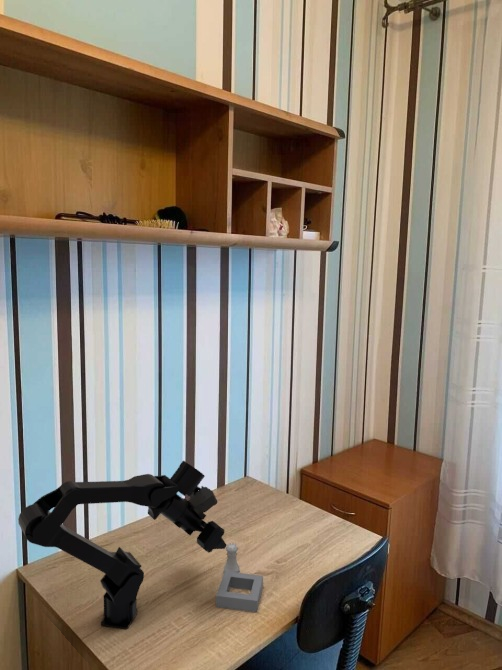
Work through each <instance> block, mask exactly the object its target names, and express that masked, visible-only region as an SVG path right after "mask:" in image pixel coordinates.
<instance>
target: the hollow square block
mask: <svg viewBox="0 0 502 670" xmlns="http://www.w3.org/2000/svg"><path fill="white" fill-rule="evenodd" d="M263 587H264V576H263V575H260V574H252V573H243V572H240V573H236V572H228V571H225V572H224V573H223V575H222V579H221V581H220V584H219V587H218V589H217V592H216V595H215V608H221V609H228V610H233V611H234V610H235V611H242V612H249V613H258V610H259V605H260V601H261V597H262V592H263ZM231 589H241V590H246V591H250V594H249V593H241V592H240V593H239V592H234V591H233V592H232V591H231Z"/></svg>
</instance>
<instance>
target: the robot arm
mask: <svg viewBox="0 0 502 670" xmlns="http://www.w3.org/2000/svg"><path fill="white" fill-rule="evenodd" d="M172 474H173V475H171V477H168V476H167V475H166V474H163V475H161V474H160V475H153V474H151V473H145V474H141V475H140V474H139V475H135V476H133V477H131V478H129V479H126V480H111V481H109V480H108V481H107V480H105V481H103V480H102V481H73V480H68V481H65V482H63V483H62V484H61V485H60V486H59V487H57V488H56V489H54V490H52V491H50V492H48V493H46V494H44V495H42V496H41V497H39V498H38V499H37V500H36V501H35V502H34V503H32V504H29V505H28V506H26V507H24V508H23V510H21V511H20V513H19V516H18V525H19V527H20V529H21V531H22V532H23V535H24V536H25V538H26V541H28V542H29V543H30V544H33V545H36V546H40V547H45V548H57V549H59V550H60V551H62V552H65V553H66V554H69V555H71V556H72V557H74V558H76V559H77V560H79V561H81V562H83V563H85V564H87V565H89V566H90V567H92V568H94V569H96V570H98V571H99V572H101V573H103V574H104V575H103V576H102V578H101V579H100V581H99V582H100V584H101V586H102V588H103V589H104V590H105V593H104V595H103V618H102V620H101V621H100V626H102V625H104V626H105V627H108V628H109V627H110V628H117V629H118V628H119V629H125V630H127V629H128V628H129V627H130V625H131V623H132V622H133V621H134V619H135V618H136V616H137V613H138V608H137V607H138V606H137V603H138V602H137V601H138V600H137V596H138V594H139V590H140V588H141V585H142V584H143V581H144V578H145V572H144V571H143V569H142V565H141V564H140V562H139V561H138V560H137V558H136V557H134V555H133V553H132V552H130V551H129V552H128V551H125V550H124V549H123V548H122V547H121V546H118V548H117V549H116V551H114V552H113V551H109V550H108V549H105V548H104V547H102V546H100V545H98V544H97V543H95V542H94V541H91V540H90V539H88V538H86V537H85V536H82V535H81V534H80V533H77V532H76V531H74V530H73V529H71V528H69V527H67V526H65V525H64V522H65V521H66V520H67V518H68V516H69V515H70V513H71V512H72V511H73V510H74V509H75V508H76V507H77V506H79V505H91V504H92V505H93V504H107V503H108V504H109V503H132V504H135V505H139V506H142V507H147V514H148V515H149V517H151V518H152V520H154V521H155V520H157V519H158V517H159V516H160V515H162V516H163V517H165V518H166V519H167V520H168V521H171V522H172V524H174V525H175V526H176V527H177V528H179V529H182V531H184V532H185V533H186V534H187V535H189V536H190V537H191V536H192V535H193V533H194V532H200V533H199V534H198V536H197V537H196V544H197V545H198V546H200V547H201V548H202V549H203V550H204V551H205V552H207V553H213V552H212V551H213V550H226V547H227V545H228V544H227V543H226V542H225V540H224V539H223V536H224V535H225V529H224V528H222V527H221V526H220V525H219V524H217V523H216V522H215V521H214V520H210V521H208V522H206V521H205V518H206V517H207V514H205V513H206V512H208V511H209V510H210V509H211V508H213V507H214V506H216V505H217V504H218V499H217V497H216V495H215V493H214V491H213V490H211V489H210V488H208V487H207V486H203V485H201V486H199V485H200V484H201V482H202V480H203V479H204V478H205V476H206V475H205V474H204V473H203V472H201V471H199V469H197V468H195V467H194V466H193V465H191V464H189V463H188V462H187V461H185V460H182V461H181V463H180V464H179V466H178V467H177V469H176V470H175V472H174V473H172ZM178 493H180V494H181V495H182V496H184V498H183V497H181V496H180V495H179V494H178ZM186 496H188V497H189V499H186V498H185V497H186ZM104 626H103V627H104Z"/></svg>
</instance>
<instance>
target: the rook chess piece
mask: <svg viewBox="0 0 502 670" xmlns="http://www.w3.org/2000/svg"><path fill="white" fill-rule="evenodd" d="M226 545H227V546H226V547H225V550H226V552H227V553H226V562H225V564H224V566H223V570H222V572H223V573H222V574H224V572H225V571H228V572H236V573H241V571H240V570H241V569H240V565H239V563H238V560H237V556H238V553H237V551H238V550H239V547H238V546H237V543H234V542H232V543H231V542H230V543H228V544H226Z"/></svg>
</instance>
